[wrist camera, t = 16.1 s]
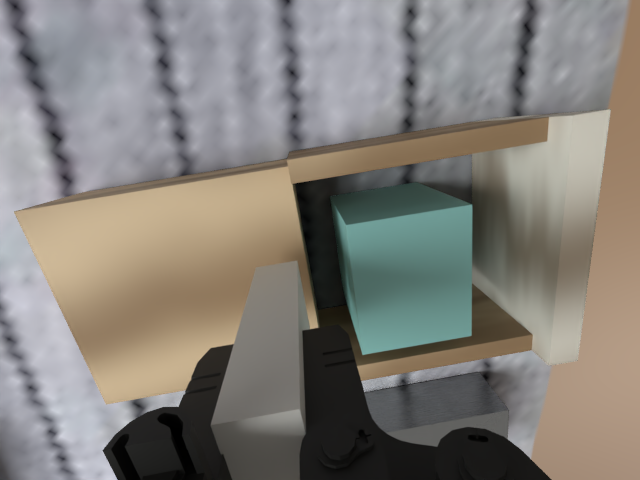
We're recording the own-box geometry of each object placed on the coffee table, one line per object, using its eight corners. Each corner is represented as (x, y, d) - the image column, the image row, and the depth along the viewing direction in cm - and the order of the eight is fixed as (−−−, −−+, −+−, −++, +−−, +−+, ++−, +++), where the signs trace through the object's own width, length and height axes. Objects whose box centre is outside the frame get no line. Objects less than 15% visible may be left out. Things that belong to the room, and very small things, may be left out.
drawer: (81, 186, 15) (-47, 217, 10) (496, 117, 16) (610, 109, 10) (147, 352, 18) (80, 450, 13) (491, 291, 19) (577, 360, 13)
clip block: (346, 225, 11) (472, 204, 11) (329, 196, 16) (416, 181, 16) (362, 354, 13) (471, 335, 13) (343, 291, 18) (420, 278, 18)
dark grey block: (356, 394, 20) (366, 436, 18) (479, 371, 21) (508, 410, 18) (365, 450, 22) (375, 497, 19) (478, 429, 22) (505, 473, 19)
